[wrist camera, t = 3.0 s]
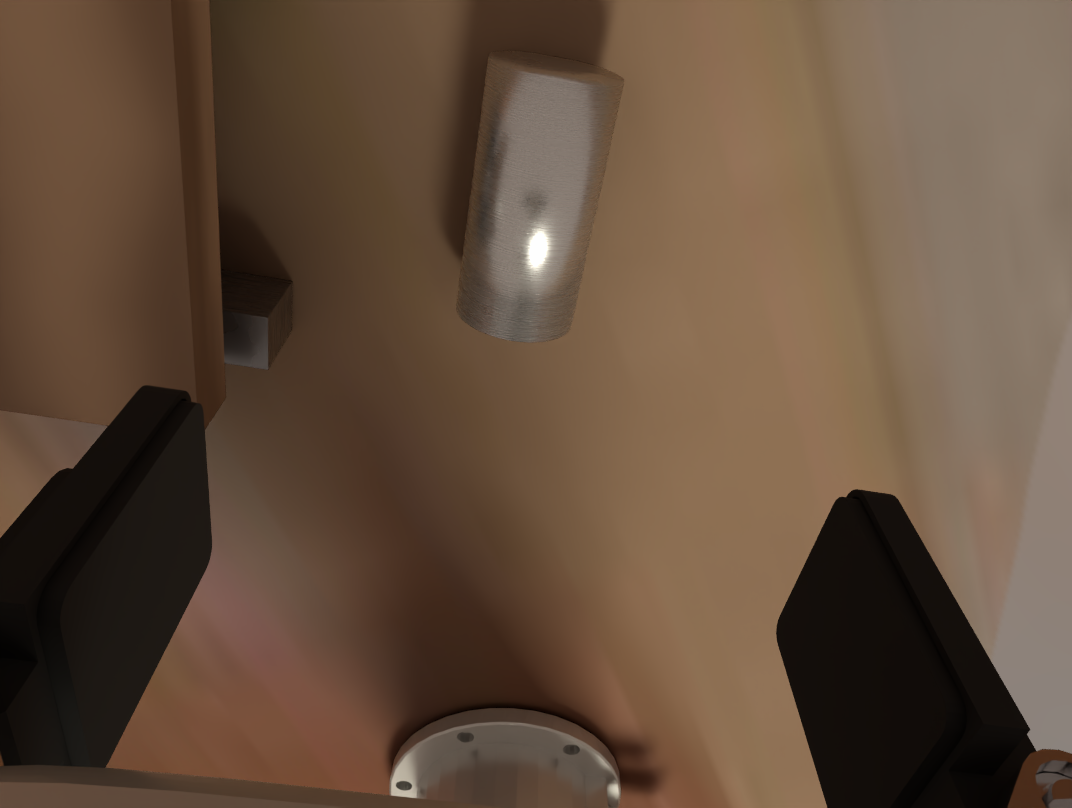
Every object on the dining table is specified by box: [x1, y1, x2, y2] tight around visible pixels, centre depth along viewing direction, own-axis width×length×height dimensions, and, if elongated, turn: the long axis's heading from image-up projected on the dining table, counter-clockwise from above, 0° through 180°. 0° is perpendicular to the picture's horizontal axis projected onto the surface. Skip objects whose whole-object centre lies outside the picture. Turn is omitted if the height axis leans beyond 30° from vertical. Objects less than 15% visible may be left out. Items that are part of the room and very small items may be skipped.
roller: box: [456, 51, 624, 342], centre depth 25 cm, size 4×8×4 cm, turn 170°
